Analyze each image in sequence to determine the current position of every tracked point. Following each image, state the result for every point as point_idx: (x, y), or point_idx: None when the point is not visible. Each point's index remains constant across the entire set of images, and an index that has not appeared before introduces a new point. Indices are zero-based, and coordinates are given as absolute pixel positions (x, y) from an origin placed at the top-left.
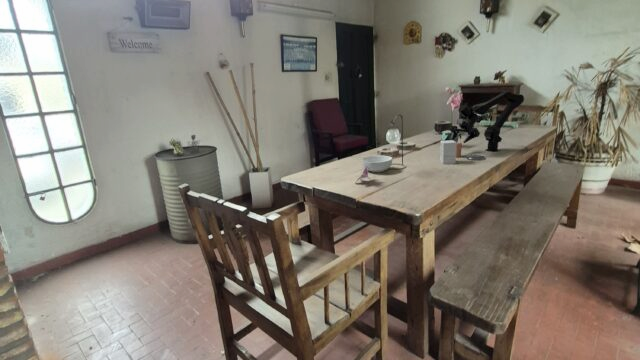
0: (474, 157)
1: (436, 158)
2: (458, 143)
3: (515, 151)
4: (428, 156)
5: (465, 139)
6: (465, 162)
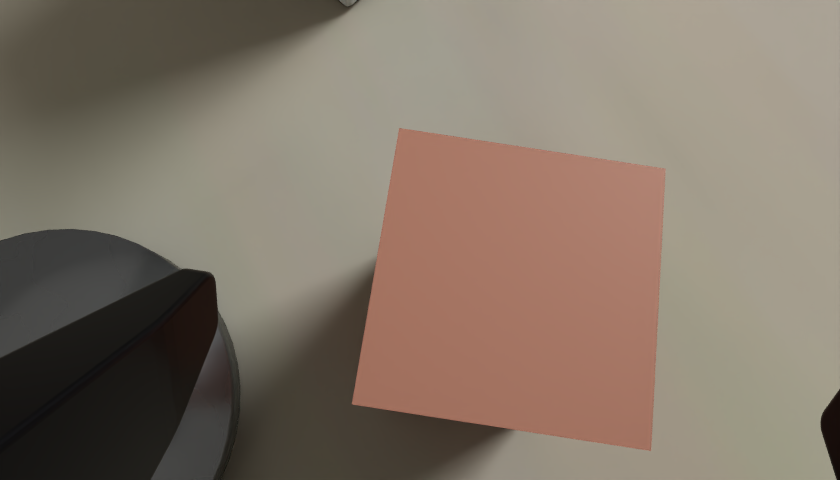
0: (36, 335)
1: (640, 11)
2: (423, 276)
3: None
4: (837, 57)
5: (80, 333)
6: (109, 33)
